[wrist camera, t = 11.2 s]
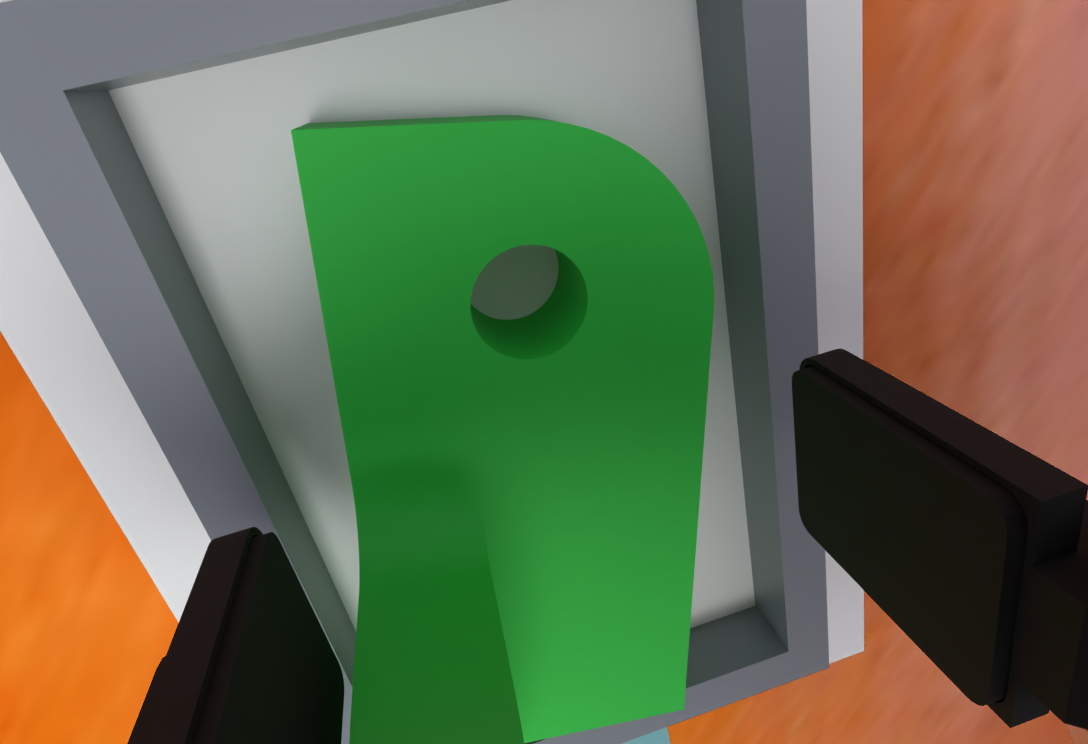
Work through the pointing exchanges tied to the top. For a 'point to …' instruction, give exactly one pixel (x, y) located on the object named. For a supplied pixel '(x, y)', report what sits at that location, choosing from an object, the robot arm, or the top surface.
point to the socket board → (499, 292)
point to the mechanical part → (512, 423)
